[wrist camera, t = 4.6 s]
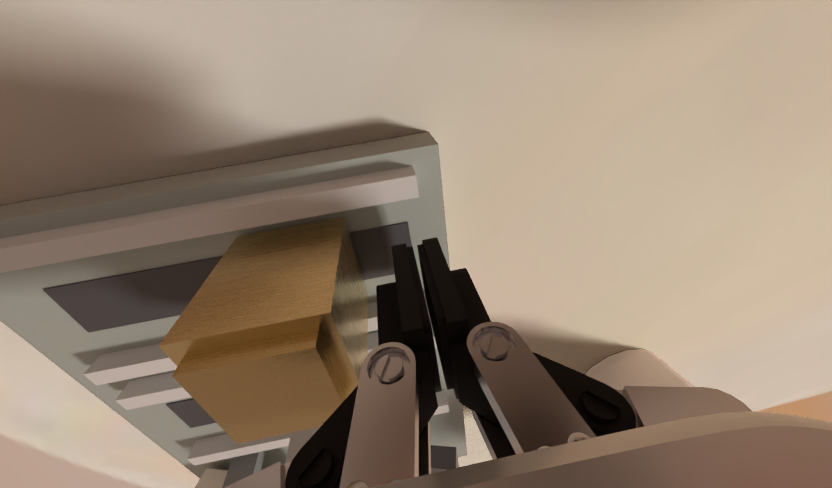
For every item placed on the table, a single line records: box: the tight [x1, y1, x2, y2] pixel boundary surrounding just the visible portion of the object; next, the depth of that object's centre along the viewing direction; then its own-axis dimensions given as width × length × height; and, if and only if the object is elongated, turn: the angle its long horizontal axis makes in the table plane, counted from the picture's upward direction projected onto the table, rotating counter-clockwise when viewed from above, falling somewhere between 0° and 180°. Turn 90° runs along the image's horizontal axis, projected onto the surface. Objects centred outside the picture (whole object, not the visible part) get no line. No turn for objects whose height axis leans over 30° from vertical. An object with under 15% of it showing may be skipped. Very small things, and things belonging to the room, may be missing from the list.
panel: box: [0, 132, 467, 488], centre depth 16 cm, size 18×24×5 cm
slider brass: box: [159, 217, 368, 444], centre depth 10 cm, size 4×4×6 cm
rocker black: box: [430, 445, 459, 474], centre depth 19 cm, size 7×5×1 cm, turn 98°
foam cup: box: [585, 349, 694, 390], centre depth 19 cm, size 10×9×13 cm
